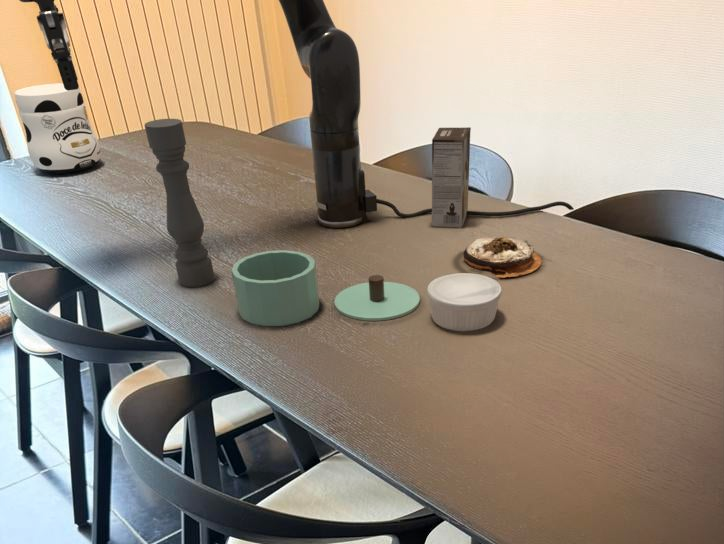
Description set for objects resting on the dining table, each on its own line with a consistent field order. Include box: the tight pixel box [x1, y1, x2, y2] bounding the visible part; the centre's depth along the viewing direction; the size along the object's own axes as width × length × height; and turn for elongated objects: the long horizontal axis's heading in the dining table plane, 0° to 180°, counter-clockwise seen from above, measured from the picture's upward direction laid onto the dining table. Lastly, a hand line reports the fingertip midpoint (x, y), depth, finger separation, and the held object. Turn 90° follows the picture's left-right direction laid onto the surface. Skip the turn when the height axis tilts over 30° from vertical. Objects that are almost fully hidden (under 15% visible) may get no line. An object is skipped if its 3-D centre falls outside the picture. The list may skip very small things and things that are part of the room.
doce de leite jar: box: [13, 82, 102, 174], centre depth 179 cm, size 17×17×18 cm
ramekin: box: [426, 272, 503, 332], centre depth 108 cm, size 11×11×5 cm
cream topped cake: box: [463, 236, 542, 279], centre depth 125 cm, size 15×15×4 cm
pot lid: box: [333, 274, 421, 322], centre depth 113 cm, size 14×14×5 cm
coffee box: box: [431, 127, 472, 228], centre depth 139 cm, size 9×6×16 cm
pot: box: [230, 249, 321, 327], centre depth 112 cm, size 13×13×8 cm
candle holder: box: [144, 118, 216, 288], centre depth 117 cm, size 6×6×25 cm
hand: (72, 85), depth 115 cm, fingers open, 8 cm apart
